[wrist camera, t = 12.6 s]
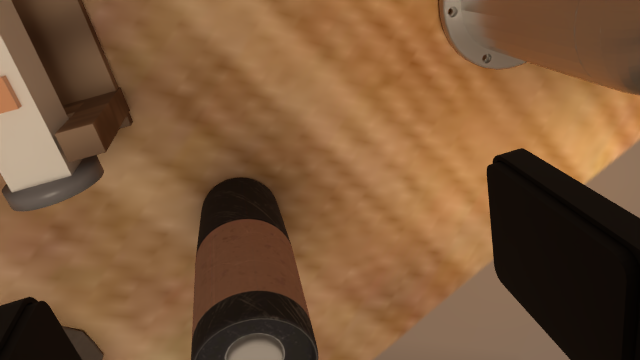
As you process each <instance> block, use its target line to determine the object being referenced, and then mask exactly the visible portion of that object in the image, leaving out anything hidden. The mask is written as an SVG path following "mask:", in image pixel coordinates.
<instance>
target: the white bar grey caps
mask: <svg viewBox="0 0 640 360" xmlns="http://www.w3.org/2000/svg"><path fill="white" fill-rule="evenodd" d="M67 120H68V117H67V115H66V112H65V110H64V108H63V106H62V104H61V102H60V100H59V98H58V96H57V94H56V92H55V90H54V88H53V86H52V84H51V81H50V79H49V77H48V75H47V73H46V71H45V69H44V67H43V65H42V63H41V61H40V59H39V57H38V55H37V53H36V50H35V48H34V46H33V44H32V42H31V40H30V38H29V36H28V34H27V32H26V30H25V28H24V26H23V24H22V22H21V19H20V17H19V15H18V13H17V11H16V9H15V7H14V5H13V3H12V1H11V0H0V173H1V175H2V176H3V178H4V180H5V182H6V183H7V184H6V185H5V186H4V188H3V189H2V193H3V195H4V197H5V198H6V200H7V202H8V203H9V205H10V207H11V208H12V209H13V210H15V211H30V210H36V209H40V208H44V207H47V206H50V205H53V204H56V203H59V202H61V201H64V200H66V199H68V198H71V197H73V196H75V195H77V194H79V193H80V192H82V191H84V190H86V189H87V188H89V187H90V186H92V185H93V184H94V183H96V182H97V181H98V180H99V179H100V178H101V177H102V175H103V173H104V170H103V168H102V166H101V164H100V161H99V159H98V157H97V155H94V156H90V157H87V158H83V159H80V160H76V161H73V162H68V160H67V158H66V156H65V154H64V152H63V150H62V148H61V146H60V144H59V142H58V140H57V138H56V136H55V133H56V132H57V131H58V130H59V129H60V128H61V127H62V126H63V125H64V124H65V122H66V121H67Z"/></svg>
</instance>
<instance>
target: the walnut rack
mask: <svg viewBox="0 0 640 360" xmlns="http://www.w3.org/2000/svg"><path fill="white" fill-rule="evenodd" d="M11 1H12V3H13V5H14V7H15V9H16V11H17V13H18V15H19V17H20V19H21V22H22V24H23V26H24V28H25V30H26V32H27V34H28V36H29V38H30V40H31V42H32V44H33V46H34V48H35V50H36V53H37V55H38V57H39V59H40V61H41V63H42V65H43V67H44V69H45V71H46V73H47V75H48V77H49V79H50V81H51V84H52V86H53V88H54V90H55V92H56V94H57V96H58V98H59V100H60V102H61V104H62V106H63V108H64V110H65V112H66V115H67V117H68V120H67V121H66V122H65V124H64V125H63V126H62V127H61V128H60V129H59V130H58V131H57V132H56V133H55V136H56V138H57V140H58V142H59V144H60V146H61V148H62V150H63V152H64V154H65V156H66V158H67V160H68V162H73V161H76V160H80V159H83V158H87V157H90V156H94V155H97V154H101V153H105V152H106V151H107V149H108V147H109V146H110V144H111V142H112V140H113V139H114V137H115V135H116V133H117V132H118V130H119V129H120V128H123V127H127V126H131V124H132V122H133V121H132V119H131V117H130V114H129V111H130V110H129V107H128V105H127V102H126V100H125V98H124V95H123V93H122V91H121V88H120V87H119V88H118V86H117V84H116V81H115V79H114V76H113V74H112V72H111V69H110V67H109V65H108V62H107V60H106V58H105V55H104V53H103V50H102V48H101V46H100V43H99V41H98V39H97V36H96V34H95V32H94V29H93V27H92V24H91V22H90V20H89V17H88V15H87V13H86V10H85V8H84V5H83V3H82V1H81V0H11Z"/></svg>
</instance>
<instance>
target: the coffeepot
mask: <svg viewBox="0 0 640 360" xmlns="http://www.w3.org/2000/svg"><path fill="white" fill-rule="evenodd" d="M62 328H63V329H64V331H65V333H66V334H67V336H68V338H69V339H70V341H71V342H72V344H73V346H74V347H75V349H76V351H77V352H78V354H79V355H80V357H81V359H82V360H102V359H103V354H102V353H101V351H100V350H99V348H98V347H97V346H96V344H95V343H94V341H93V340H91V339H90V338H89V337H88V336H87V335H85V334H84V333H83V332H82V331H78V330H75V329H72V328H68V327H64V326H62Z"/></svg>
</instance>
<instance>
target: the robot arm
mask: <svg viewBox="0 0 640 360" xmlns="http://www.w3.org/2000/svg"><path fill="white" fill-rule="evenodd" d="M439 9H440V19H441V23H442V27H443V30H444V33H445V35H446V37H447V39H448V41H449V43H450V44H451V45H452V47H453V48H454V49H455V50H456V52H457V53H459V54H460V55H461V56H462V57H463V58H465V59H466V60H468V61H470V62H472V63H474V64H476V65H479V66H481V67H484V68H491V69H507V68H512V67H516V66H519V65H522V64H524V63H526V62H529V63H532V64H535V65H539V66H542V67H545V68H548V69H551V70H554V71H557V72H560V73H564V74H567V75H570V76H573V77H576V78H579V79H582V80H585V81H589V82H592V83H595V84H598V85H601V86H605V87H608V88H611V89H615V90H618V91H621V92H625V93H630V94H635V95H640V0H439ZM449 9H450V10H451V12H450V13H449V14H448V10H449ZM483 56H484V58H483ZM482 58H483V59H482ZM487 183H488V195H489V207H490V219H491V231H492V243H493V256H494V266H495V271H496V273H497V276H498V278H499V280H500V281H501V283H503V285H504V286H505V287H506V288H507V289H508V291H509V292H510V293H511V294H512V295H513V296H514V297H515V298H516V299H517V301H518V302H519V303H520V304H521V305H522V306H523V307H524V308H525V309H526V311H527V312H528V313H529V314H530V315H531V316H532V317H533V318H534V319H535V321H536V322H537V323H538V324H539V325H540V326H541V327H542V328H543V329H544V330H545V332H546V333H547V334H548V335H549V336H550V337H551V338H552V340H554V342H555V343H556V344H557V345H558V346H559V347H560V348H561V350H562V351H563V352H564V353H565V354H566V355H567V356H568V357H569V359H570V360H640V218H638V217H637V216H635V215H633V214H632V213H630V212H628V211H627V210H625V209H623V208H622V207H620V206H618V205H617V204H615V203H613V202H611V201H610V200H608V199H607V198H605V197H603V196H602V195H600V194H598V193H597V192H595V191H593V190H592V189H590V188H588V187H587V186H585V185H583V184H582V183H580V182H578V181H577V180H575V179H573V178H572V177H570V176H568V175H567V174H565V173H563V172H562V171H560V170H558V169H557V168H555V167H553V166H552V165H550V164H548V163H547V162H545V161H544V160H542V159H540V158H539V157H537V156H535V155H534V154H532V153H530V152H529V151H527V150H525V149H522V148H521V149H517V150H514V151H511V152H507V153H504V154H501V155H497V156H495V157H494V159H493V164H491V165H489V166H488V167H487ZM0 360H82V359H81V357H80V355H79V354H78V352H77V351H76V349H75V347H74V346H73V344H72V342H71V341H70V339H69V338H68V336H67V334H66V333H65V331H64V329H63V328H62V326H61V324H60V323H59V321H58V320H57V318H56V316H55V315H54V313H53V311H52V310H51V308H50V307H49V305H48V304H47V303H46V302H44V301H39V302H38V301H37V300H36V299H34V298H32V297H28V298H24V299H21V300H18V301H14V302H11V303H8V304H4V305H1V306H0Z"/></svg>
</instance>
